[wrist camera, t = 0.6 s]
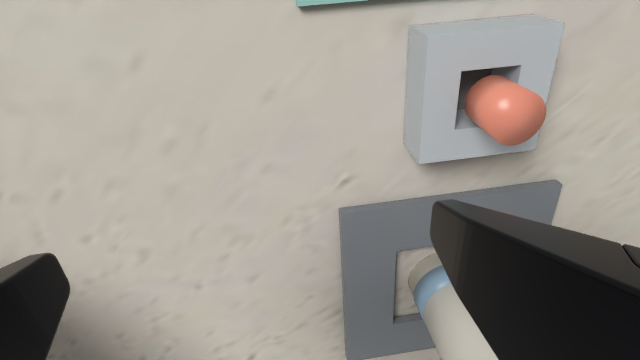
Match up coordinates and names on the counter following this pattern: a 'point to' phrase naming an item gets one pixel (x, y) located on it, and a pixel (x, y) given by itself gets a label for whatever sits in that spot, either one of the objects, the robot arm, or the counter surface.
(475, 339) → the cartridge
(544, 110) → the release button
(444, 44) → the block
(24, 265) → the robot arm
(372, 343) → the port plate
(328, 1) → the rubber mat
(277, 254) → the counter surface
